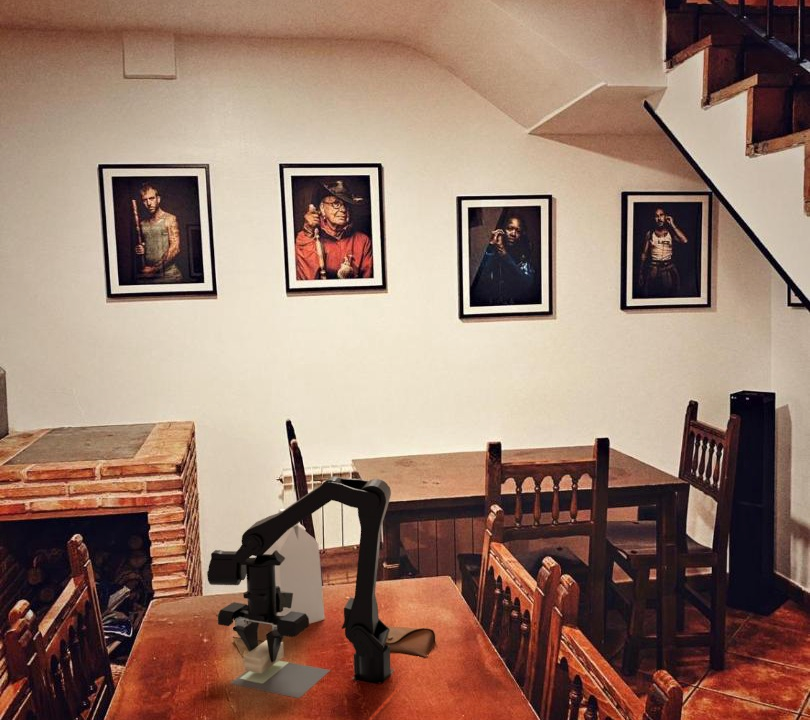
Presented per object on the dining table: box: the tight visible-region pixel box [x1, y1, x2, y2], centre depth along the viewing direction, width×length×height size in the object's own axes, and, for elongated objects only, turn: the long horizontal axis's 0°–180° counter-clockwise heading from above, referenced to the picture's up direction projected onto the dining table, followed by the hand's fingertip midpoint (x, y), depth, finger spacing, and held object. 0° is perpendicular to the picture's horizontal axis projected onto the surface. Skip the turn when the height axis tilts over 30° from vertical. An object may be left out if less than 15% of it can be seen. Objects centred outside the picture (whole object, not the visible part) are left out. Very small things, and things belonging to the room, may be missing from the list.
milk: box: [264, 508, 325, 625], centre depth 184 cm, size 12×12×26 cm
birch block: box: [243, 639, 285, 674], centre depth 156 cm, size 8×4×3 cm, turn 156°
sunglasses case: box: [352, 625, 436, 658], centre depth 167 cm, size 18×7×7 cm
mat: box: [229, 660, 331, 699], centre depth 153 cm, size 16×12×1 cm
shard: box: [232, 636, 265, 659], centre depth 169 cm, size 11×8×2 cm
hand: (264, 659), depth 156 cm, fingers closed on birch block, 4 cm apart
